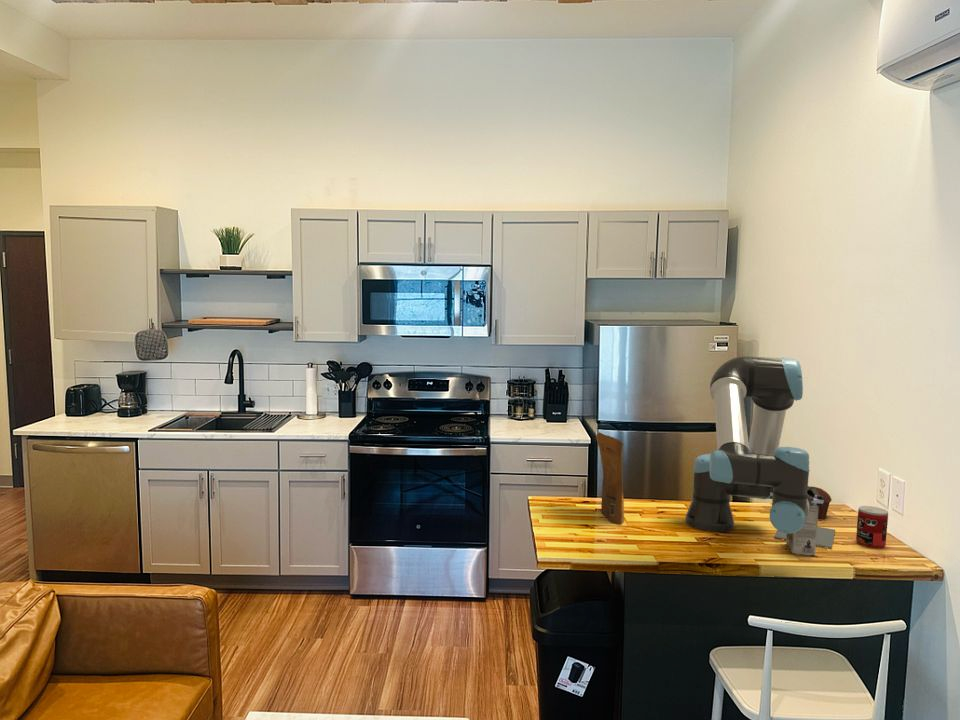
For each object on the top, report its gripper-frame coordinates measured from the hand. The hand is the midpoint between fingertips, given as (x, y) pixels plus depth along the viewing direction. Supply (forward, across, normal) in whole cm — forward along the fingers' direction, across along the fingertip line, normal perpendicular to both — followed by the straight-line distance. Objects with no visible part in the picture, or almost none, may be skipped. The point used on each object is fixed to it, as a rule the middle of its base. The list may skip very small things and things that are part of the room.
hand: (802, 484), depth 188 cm
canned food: (+29, +18, -22) cm, 41 cm away
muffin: (+50, 0, -22) cm, 55 cm away
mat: (+27, 0, -22) cm, 35 cm away
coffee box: (+11, 0, -22) cm, 25 cm away
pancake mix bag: (+7, -58, -22) cm, 63 cm away
